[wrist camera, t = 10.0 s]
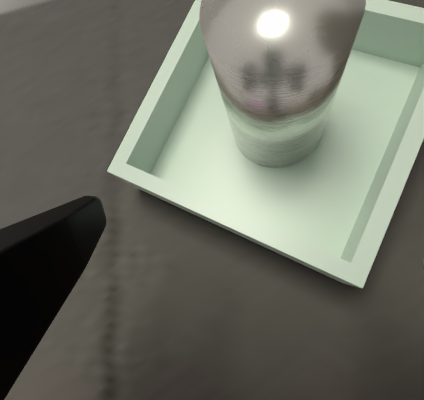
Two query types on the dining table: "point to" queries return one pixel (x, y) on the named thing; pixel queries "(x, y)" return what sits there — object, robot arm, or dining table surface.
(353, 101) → the tray
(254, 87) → the can
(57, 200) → the dining table surface
